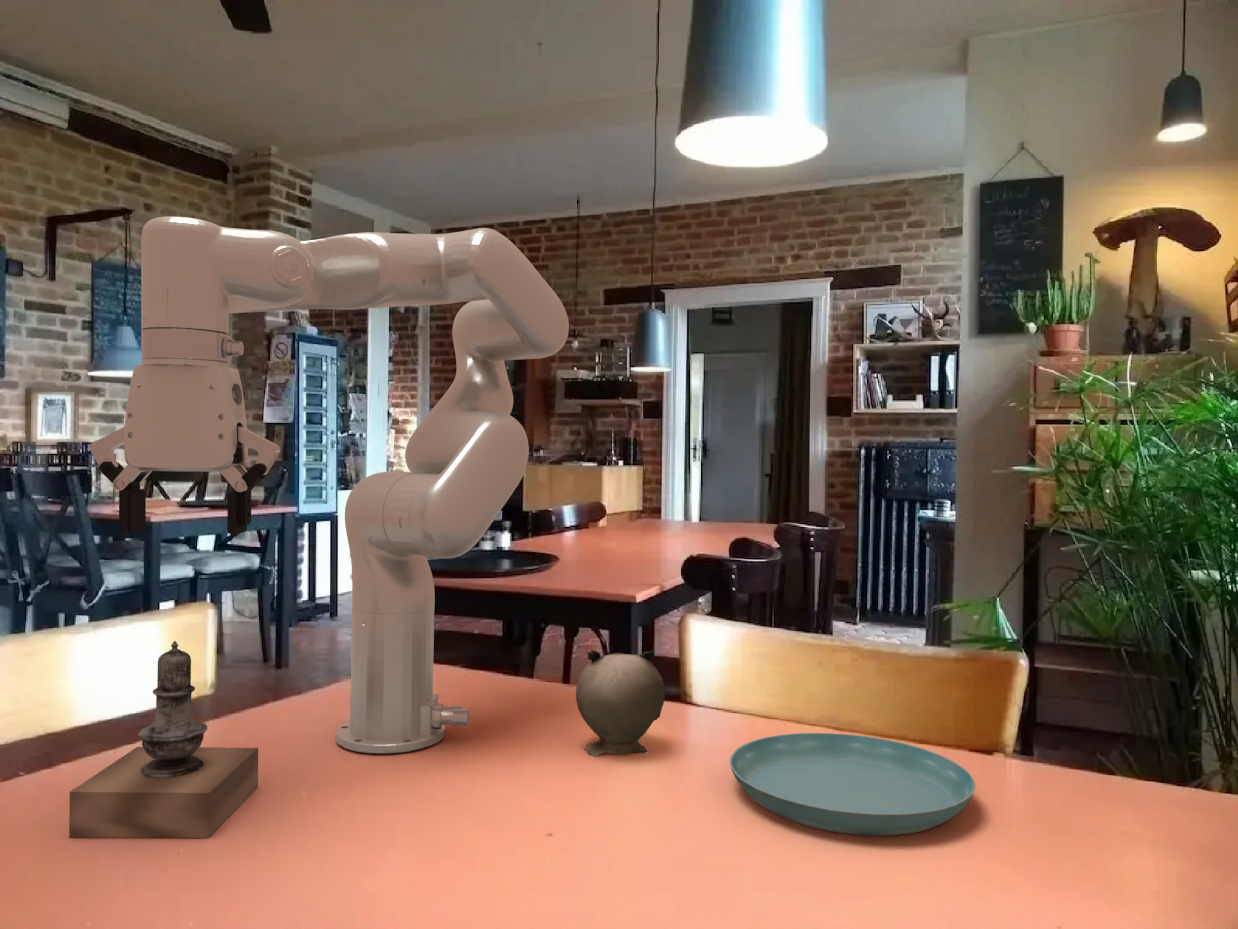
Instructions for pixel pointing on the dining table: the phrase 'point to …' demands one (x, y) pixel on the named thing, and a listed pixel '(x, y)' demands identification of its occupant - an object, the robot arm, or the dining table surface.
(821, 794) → the teal plate
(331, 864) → the dining table surface
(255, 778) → the brown flat wooden block
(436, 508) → the robot arm
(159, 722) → the salt shaker
